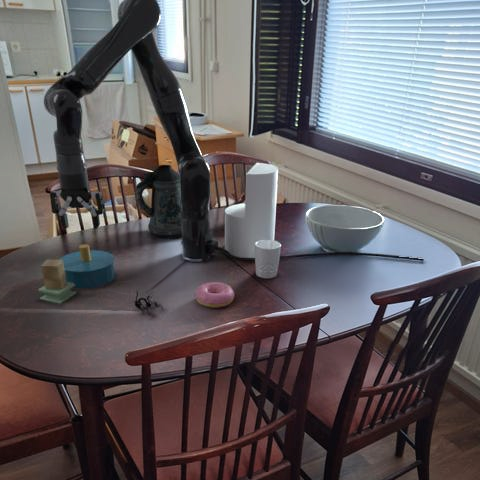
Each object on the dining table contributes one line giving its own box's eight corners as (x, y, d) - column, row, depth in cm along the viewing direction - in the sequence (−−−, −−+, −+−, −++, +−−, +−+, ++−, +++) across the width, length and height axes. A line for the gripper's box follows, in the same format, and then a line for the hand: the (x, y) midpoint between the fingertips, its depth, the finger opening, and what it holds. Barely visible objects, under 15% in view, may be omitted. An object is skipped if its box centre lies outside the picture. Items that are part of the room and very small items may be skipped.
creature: (163, 307, 132) (134, 302, 131) (166, 290, 130) (136, 284, 129) (161, 321, 126) (130, 316, 124) (164, 303, 123) (133, 298, 122)
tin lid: (124, 258, 147) (123, 240, 144) (93, 278, 134) (90, 260, 131) (80, 250, 152) (78, 233, 149) (46, 269, 138) (42, 251, 136)
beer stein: (201, 231, 183) (199, 165, 171) (168, 247, 169) (164, 175, 156) (167, 223, 191) (164, 159, 178) (133, 237, 176) (127, 168, 164)
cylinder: (277, 243, 174) (282, 164, 160) (268, 261, 160) (273, 176, 146) (231, 238, 178) (232, 160, 164) (219, 255, 163) (219, 171, 149)
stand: (76, 294, 136) (74, 283, 134) (60, 305, 130) (58, 293, 128) (56, 290, 138) (54, 279, 136) (39, 300, 132) (37, 289, 130)
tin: (124, 273, 149) (122, 256, 146) (95, 293, 137) (92, 276, 134) (83, 265, 153) (80, 249, 151) (51, 284, 141) (48, 267, 138)
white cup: (281, 271, 153) (283, 241, 148) (275, 281, 146) (277, 250, 141) (258, 267, 155) (259, 238, 150) (250, 277, 148) (251, 246, 143)
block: (66, 282, 134) (62, 259, 131) (61, 289, 130) (57, 266, 127) (51, 282, 134) (46, 259, 131) (45, 289, 130) (40, 265, 127)
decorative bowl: (293, 255, 164) (296, 221, 158) (313, 231, 186) (316, 201, 180) (372, 269, 156) (378, 233, 150) (383, 242, 177) (389, 210, 171)
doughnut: (239, 307, 131) (239, 294, 129) (199, 312, 128) (199, 298, 126) (228, 290, 140) (228, 277, 138) (191, 294, 137) (191, 281, 135)
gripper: (102, 167, 132) (109, 224, 140) (50, 166, 132) (60, 223, 140) (95, 173, 126) (102, 232, 134) (41, 172, 126) (51, 231, 134)
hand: (81, 227), depth 137 cm, fingers open, 8 cm apart
